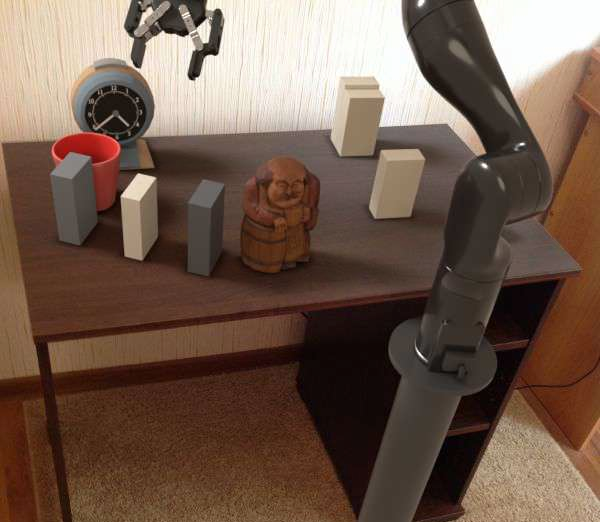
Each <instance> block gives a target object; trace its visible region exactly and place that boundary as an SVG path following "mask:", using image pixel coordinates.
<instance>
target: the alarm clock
mask: <svg viewBox="0 0 600 522" xmlns="http://www.w3.org/2000/svg"><path fill="white" fill-rule="evenodd" d="M92 63H93V64H91V65H88V67H87V68H85V69H84V70H83V71H81V73H80V74H79V75H78V77H77V78H76V79H75V81H74V82H73V84H72V88H71V90H70V100H69V101H70V102H69V103H70V107H71V111H72V115H73V120H74V121H75V123H76V125H77V127H78V128H79V130H80V131H81V133H98V134H103V135H106V136H109V137H111V138H113V139H114V140H116V141H117V142H118V143H119V145H120V147H121V156H120V166H119V171H128V170H129V171H130V170H142V169H143V170H145V169H155V163H154V161H153V158H152V155H151V153H150V150H149V147H148V143H147V140H146V139H142V138H143V136H145V134H146V132H147V131H148V130H149V129H150V127H151V124H152V122H153V120H154V117H155V109H156V106H155V105H156V104H155V99H154V94H153V91H152V90H151V87H150V85H149V83H148V81H147V80H146V79H145V77H144V76H143V74H141V73H140V71H138V70H137V69H136V68H135V67H132V66H131V65H129V64H127V61H126V60H124V59H120V58H114V57H106V58H100V59H97V60H93V62H92Z"/></svg>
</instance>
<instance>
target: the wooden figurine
mask: <svg viewBox="0 0 600 522" xmlns="http://www.w3.org/2000/svg"><path fill="white" fill-rule="evenodd" d="M320 194H321V181H320V178H319V177H318V176H317V175H316V174H315V173H313V172H311V171H310V170H308V168H307V167H306V165H305V164H304V163H303V162H302V161H301V160H298V159H297V158H295V157H292V156H285V155H284V156H283V155H282V156H277V157H274V158H271V159H269V160H267V161H265V162H264V163H263V164H262V165H260V166H259V167H258V168H257V170H256V171H255V172H254V176H253V177H251V178H250V179H249V180H248V181H246V183H245V184H244V188H243V195H242V202H241V207H242V210H243V212H244V215H243V218H242V220H241V226H240V234H239V235H240V237H239V244H240V254H241V260H242V262H243V263H244V264H245V265H246V266H247V267H250V268H251V269H253V270H255V271H259V272H261V273H265V274H266V273H267V274H277V273H279V272H280V271H281V270H289V269H295V268H296V267H297V265H298V263H302V262H303V263H304V262H305V263H308V262H309V260H310V255H311V254H310V252H311V250H310V249H311V232H312V231H313V230H314V229H315V227H316V225H317V223H318V218H319V217H318V216H319V212H320V211H319V208H318V207H319V203H320Z"/></svg>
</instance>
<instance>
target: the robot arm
mask: <svg viewBox="0 0 600 522" xmlns="http://www.w3.org/2000/svg"><path fill="white" fill-rule="evenodd" d="M207 4H208V0H131V1H130V4H129V7H128V9H127V13H126V17H125V20H124V24H123V28H124V30H125V32H126V33H127V36H129V37H130V38H131V39H133V42H132V46H131V51H130V55H129V57H130V60H131V62H132V64H133V66H134V68H135V69H139V70H141V69H142V66H143V63H144V58H145V54H146V50H147V43H148V42H149V41H150V40H151V39H153V38H154V37H157V36H158V35H160V34H161V33H162V32H164V34H167V35H177V36H178V37H181V38H186V37H187V36H190V38H191V41H192V44H193V46H194V47H195V48H194V50H192V53H191V56H190V61H189V65H188V69H187V78H188V80H189V81H193V82H195V81H196V78H197V79H199V77H200V76H201V73H202V69H203V65H204V61H205V58H206V57H207V56H213V57H217V56H219V54H220V49H221V43H222V38H223V32H224V26H225V21H226V20H225V19H226V18H225V17H224V14H223V11H222V10H221V8H215V9H214V10H210V9H207ZM149 8H151V10H152V12H151V13H150V14H149V15H148V16H147V17H146V18H145V19H144V21H143V23H142V24H141V20H142V17H143V14H145V13H147V11H148V9H149ZM400 8H401V9H400V10H401V11H400V13H401V14H400V15H401V23H402V28H403V31H404V35H405V37H406V41H407V43H408V45H409V48H410V50H411V53H412V55H413V58H414V61H415V63H416V65H417V68H418V70H419V72H420V73H421V76H422V77H423V78H424V80H425V81H426V82H427V84H429V86H431V88H433V90H434V91H435V92H436V93H437V94H438V95H439V96H440V97H442V99H443V100H445V101H446V102H447V104H449V105H451V106H452V107H453V109H454V110H456V111H457V112H458V113H459V114H460V115H461V116H463V118H464V119H465V120H466V121H467V122H468V123H469V124H470V126H471V128H472V129H473V130H474V131H475V133H476V135H477V136H478V138H479V141H480V143H481V145H482V147H483V149H484V152H485V153H482V154H479V155H476V156H473V157H471V158H469V159H468V160H467V161H465V163H464V164H463V165H462V167H461V168H460V170H459V172H458V174H457V177H456V178H455V182H454V185H453V189H452V193H451V197H450V201H449V205H448V210H447V213H446V218H445V222H444V227H443V244H444V245H443V246H444V247H443V250H442V252H441V253H442V254H441V257H440V261H439V263H438V267H437V269H436V273H435V276H434V279H433V282H432V285H431V287H430V288H431V289H430V291H429V295H428V298H427V302H426V305H425V308H424V311H423V315H422V316H423V317H422V320H421V324H420V327H419V331H418V334H417V336H416V338H415V341H414V345H413V348H414V352H415V355H416V356H417V358H418V359H419V360H420V361H421V362H422V363H423V364H424V365H426V367H427V370H428V371H429V372H441V373H455V374H458V375H457V376H456V380H457V381H461V380H462V379H464V376H465V374H468V372H476V371H477V368H478V366H479V364H480V361H481V359H480V355H479V352H477V349H478V346H479V344H480V341H481V339H482V336H484V334H485V331H486V328H487V326H488V323H489V321H490V317H491V315H492V313H493V311H494V308H495V305H496V303H497V300H498V297H499V294H500V293H501V290H502V288H503V285H504V283H505V280H506V278H507V276H508V273H509V270H510V268H511V265H512V263H513V257H514V253H513V249H512V246H511V245H510V243H509V241H507V240H506V238H504V237H502V234H503V230H504V228H505V226H509V225H512V224H515V223H519V222H522V221H525V220H528V219H531V218H534V217H536V216H538V215H541V214H542V213H544V211H545V210H546V209H547V208H548V207H549V205H550V203H551V201H552V198H553V193H554V179H553V174H552V169H551V167H550V164H549V161H548V159H547V156H546V154H545V152H544V150H543V149H542V146H541V145H540V142H539V141H538V139H537V137H536V135H535V134H534V131H533V130H532V128H531V126H530V124H529V122H528V121H527V118H526V117H525V115H524V113H523V111H522V109H521V108H520V106H519V104H518V102H517V100H516V97H515V96H514V93H513V91H512V89H511V87H510V85H509V83H508V80H507V78H506V75H505V73H504V71H503V69H502V66H501V64H500V61H499V59H498V57H497V55H496V53H495V51H494V48H493V46H492V43H491V40H490V37H489V34H488V32H487V31H488V30H487V29H486V26H485V24H484V22H483V19H482V16H481V13H480V11H479V9H478V6H477V4H476V1H475V0H401V2H400ZM206 20H207V23H208V25H209V27H210V30H209V36H208V41H207V42H204V43H203V40H202V39H201V36H200V34H199V31H198V28H199V27H200V26H201V25H202V24H203V23H204V22H205V21H206ZM140 24H141V25H140Z"/></svg>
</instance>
